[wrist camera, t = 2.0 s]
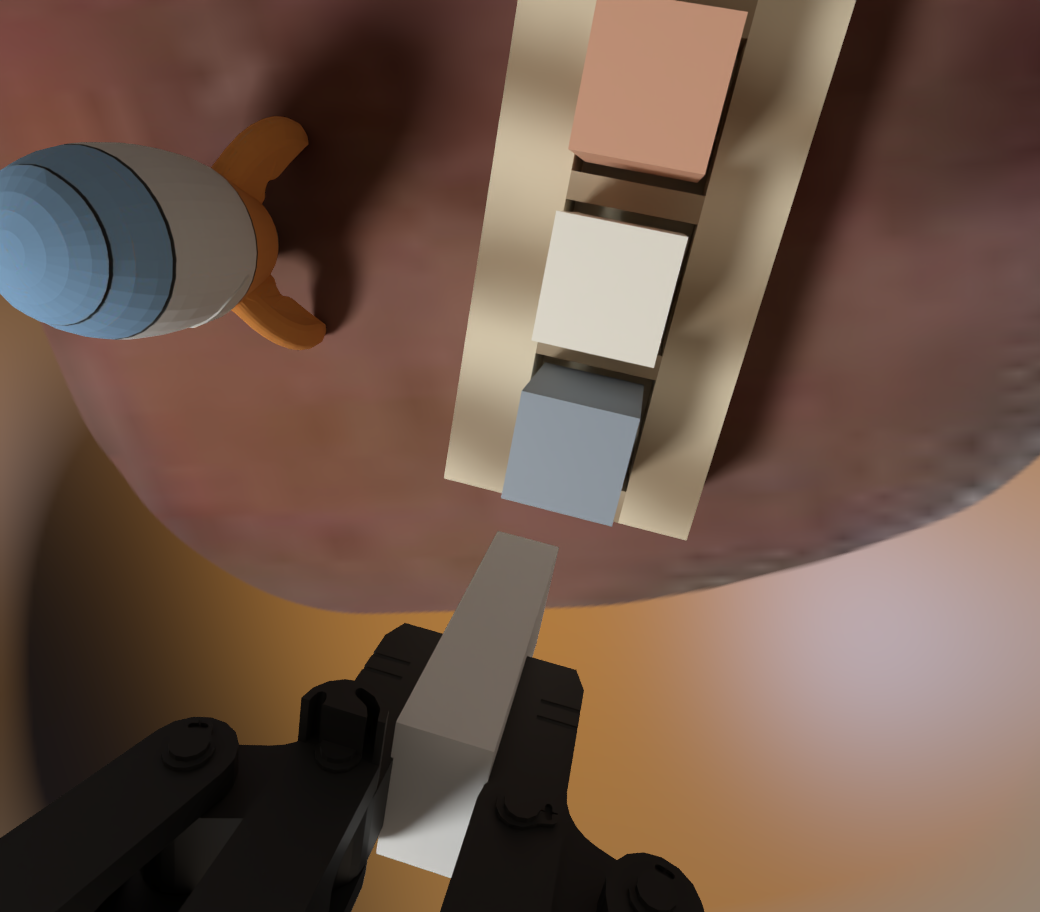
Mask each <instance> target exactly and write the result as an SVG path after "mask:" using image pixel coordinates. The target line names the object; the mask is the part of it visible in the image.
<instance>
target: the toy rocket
mask: <svg viewBox="0 0 1040 912" xmlns="http://www.w3.org/2000/svg"><path fill="white" fill-rule="evenodd" d="M307 145H308V137H307V134H306V132H305V131H304V129H303V128H302V126H301V125H300V124H299V123H298V122H295V121H293V120H291V119H289V118H287V117H279V116H272V117H268V118H264V119H262V120H260V121H258V122H256V123H254V124H252V125H250V126H249V127H247V128H246V129H245V130H244V131H242V132H241V133H240V134H239V135H238V136H237V137H236V138H235V139H234V140H233V141H232V142H231V143H230V144H229V145H228V146H227V148H226V149H225V150H224V151H223V152H222V154H221V155H220V157H219V158H218V159H217V161H216V162H215V163H214V164H213V166H212V167H211V168H210V167H208V166H206V165H204V164H202V163H200V162H198V161H196V160H194V159H191V158H188V157H186V156H183V155H179V154H176V153H172V152H169V151H165V150H161V149H157V148H152V147H147V146H141V145H135V144H126V143H109V142H81V143H70V144H64V145H59V146H55V147H51V148H47V149H43V150H39V151H35V152H33V153H31V154H29V155H26V156H24V157H22V158H20V159H18V160H16V161H15V162H13V163H11V164H9V165H8V166H7V167H5V168H3V169H2V170H0V294H1V295H2V296H3V297H4V298H5V299H6V300H7V301H8V302H9V303H10V304H11V305H12V306H13V307H15V308H16V309H18V310H20V311H21V312H23V313H25V314H26V315H28V316H30V317H32V318H34V319H36V320H38V321H41V322H44V323H46V324H48V325H50V326H52V327H54V328H57V329H60V330H63V331H67V332H70V333H74V334H78V335H82V336H86V337H93V338H103V339H116V340H120V339H136V338H144V337H151V336H158V335H164V334H168V333H171V332H175V331H179V330H182V329H186V328H189V327H190V328H194V327H197V326H200V325H202V324H205V323H207V322H210V321H212V320H215V319H217V318H219V317H222V316H223V315H225V314H226V313H228V312H229V311H230V310H232V311H233V312H234V313H236V314H237V315H238V316H239V317H240V318H241V319H242V320H244V321H245V322H246V323H247V324H248V325H249V326H250V327H251V328H252V329H254V330H255V331H257V332H258V333H259V334H261V335H262V336H263V337H265V338H266V339H268V340H270V341H272V342H274V343H276V344H278V345H280V346H283V347H286V348H289V349H294V350H304V349H310V348H312V347H314V346H316V345H317V344H319V343H321V342H322V340H323V338H324V336H325V333H326V324H324V323H323V322H321V321H320V320H319V319H317V318H316V317H315V316H313V315H312V314H311V313H309V312H308V311H307V310H305V309H304V308H303V307H302V306H301V305H299V304H298V303H297V302H296V301H295V300H293V299H292V298H290V297H287V296H282V295H281V294H280V292H279V291H278V289H277V287H276V283H275V279H274V278H273V277H272V276H271V272H272V270H273V268H274V266H275V264H276V260H277V257H278V249H279V236H278V232H277V229H276V227H275V225H274V223H273V220H272V218H271V216H270V215H269V213H268V211H267V210H266V208H265V207H264V206H263V205H262V203H263V201H264V199H265V190H266V186H267V183H268V182H269V181H270V180H273V179H276V178H277V177H279V176H280V174H281V173H282V172H283V171H284V170H285V168H286V167H287V166H288V165H289V164H290V163H291V162H292V161H293V160H294V158H295V157H296V156H297V155H298V154H299V153H300V152H301V151H302V150H303V149H304V148H305V147H306V146H307Z"/></svg>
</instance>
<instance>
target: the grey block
mask: <svg viewBox="0 0 1040 912" xmlns="http://www.w3.org/2000/svg"><path fill="white" fill-rule="evenodd" d="M643 391H644V385H642V384H638V383H633V382H629V381H625V380H620V379H616V378H612V377H607V376H603V375H599V374H594V373H590V372H585V371H581V370H577V369H572V368H568V367H564V366H559V365H555V364H551V363H546V362H545V363H544V364H543V365H542V367H541V368H540V369H539V370H538V372H537V373H536V374H535V375H534V376H533V378H532V379H531V380H530V381H529V383H528V384H527V385H526V386H525V387H524V389H523V390H522V392H521V397H520V402H519V407H518V413H517V418H516V423H515V428H514V434H513V439H512V444H511V449H510V454H509V460H508V465H507V470H506V475H505V480H504V486H503V491H502V496H501V498H503V499H507V500H511V501H515V502H519V503H522V504H526V505H530V506H534V507H538V508H542V509H546V510H550V511H554V512H557V513H561V514H565V515H569V516H573V517H577V518H581V519H585V520H588V521H592V522H596V523H600V524H604V525H608V526H612V524H613V520H614V516H615V513H616V509H617V505H618V501H619V497H620V494H621V490H622V486H623V482H624V479H625V475H626V471H627V467H628V463H629V460H630V456H631V452H632V448H633V445H634V441H635V437H636V433H637V429H638V426H639V422H640V417H641V408H642V400H643Z"/></svg>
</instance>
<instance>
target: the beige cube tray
mask: <svg viewBox="0 0 1040 912" xmlns="http://www.w3.org/2000/svg"><path fill="white" fill-rule="evenodd" d="M596 1H597V0H518V3H517V10H516V16H515V23H514V29H513V35H512V42H511V48H510V55H509V61H508V68H507V74H506V81H505V87H504V94H503V100H502V107H501V113H500V119H499V126H498V132H497V139H496V145H495V152H494V158H493V165H492V171H491V178H490V184H489V191H488V197H487V203H486V210H485V216H484V223H483V229H482V236H481V242H480V249H479V255H478V262H477V268H476V275H475V281H474V288H473V294H472V300H471V307H470V313H469V320H468V326H467V333H466V339H465V346H464V352H463V359H462V365H461V372H460V378H459V384H458V391H457V397H456V404H455V410H454V417H453V423H452V430H451V436H450V443H449V449H448V456H447V462H446V469H445V475H444V478H445V479H449V480H453V481H457V482H461V483H465V484H469V485H473V486H476V487H480V488H484V489H488V490H492V491H496V492H500V493H502V491H503V486H504V480H505V475H506V470H507V465H508V460H509V454H510V449H511V444H512V439H513V434H514V428H515V423H516V418H517V413H518V407H519V402H520V397H521V392H522V390H523V389H524V387H525V386H526V385H527V384H528V383H529V381H530V380H531V379H532V378H533V376H534V375H535V374H536V373H537V372H538V370H539V369H540V368H541V367H542V365H543V364H544V363H545V362H546V363H551V364H555V365H559V366H564V367H568V368H572V369H577V370H581V371H585V372H590V373H594V374H599V375H603V376H607V377H612V378H616V379H620V380H625V381H629V382H633V383H638V384H642V385H644V391H643V400H642V408H641V417H640V422H639V426H638V429H637V433H636V437H635V441H634V445H633V448H632V452H631V456H630V460H629V463H628V467H627V471H626V475H625V479H624V482H623V486H622V490H621V494H620V497H619V501H618V505H617V509H616V513H615V516H614V520H613V522H617V523H621V524H625V525H628V526H632V527H636V528H640V529H644V530H648V531H652V532H656V533H660V534H663V535H667V536H671V537H675V538H679V539H683V540H687V537H688V534H689V530H690V527H691V524H692V521H693V518H694V515H695V511H696V508H697V505H698V502H699V499H700V495H701V492H702V489H703V486H704V483H705V480H706V476H707V473H708V470H709V467H710V464H711V460H712V457H713V454H714V451H715V448H716V445H717V441H718V438H719V435H720V432H721V429H722V425H723V422H724V419H725V416H726V413H727V410H728V406H729V403H730V400H731V397H732V394H733V390H734V387H735V384H736V381H737V378H738V375H739V371H740V368H741V365H742V362H743V359H744V355H745V352H746V349H747V346H748V343H749V340H750V336H751V333H752V330H753V327H754V324H755V320H756V317H757V314H758V311H759V308H760V305H761V301H762V298H763V295H764V292H765V289H766V285H767V282H768V279H769V276H770V273H771V269H772V266H773V263H774V260H775V257H776V254H777V250H778V247H779V244H780V241H781V238H782V234H783V231H784V228H785V225H786V222H787V219H788V215H789V212H790V209H791V206H792V203H793V199H794V196H795V193H796V190H797V187H798V184H799V180H800V177H801V174H802V171H803V168H804V164H805V161H806V158H807V155H808V152H809V149H810V145H811V142H812V139H813V136H814V133H815V129H816V126H817V123H818V120H819V117H820V114H821V110H822V107H823V104H824V101H825V98H826V94H827V91H828V88H829V85H830V82H831V79H832V75H833V72H834V69H835V66H836V63H837V59H838V56H839V53H840V50H841V47H842V43H843V40H844V37H845V34H846V31H847V28H848V24H849V21H850V18H851V15H852V12H853V8H854V5H855V2H856V0H676V1H682V2H688V3H695V4H701V5H707V6H714V7H720V8H726V9H733V10H739V11H745V12H748V14H747V18H746V21H745V25H744V29H743V33H742V37H741V40H740V44H739V48H738V52H737V55H736V59H735V63H734V67H733V71H732V74H731V78H730V82H729V86H728V89H727V93H726V97H725V101H724V105H723V108H722V112H721V116H720V120H719V123H718V127H717V131H716V135H715V139H714V142H713V146H712V150H711V154H710V157H709V161H708V165H707V169H706V173H705V175H704V176H703V177H702V178H701V179H700V180H699V181H698V183H694V182H689V181H684V180H679V179H673V178H668V177H663V176H658V175H652V174H647V173H642V172H637V171H631V170H626V169H621V168H616V167H610V166H605V165H600V164H595V163H589V162H585V161H584V160H583V159H581V158H580V157H578V156H577V155H576V154H574V153H573V152H572V151H570V150H569V149H568V147H569V142H570V136H571V131H572V126H573V121H574V115H575V110H576V105H577V100H578V95H579V89H580V84H581V79H582V74H583V69H584V63H585V58H586V53H587V48H588V42H589V37H590V32H591V27H592V22H593V16H594V11H595V6H596ZM556 211H569V212H578V213H583V214H588V215H593V216H598V217H603V218H608V219H613V220H618V221H623V222H628V223H633V224H638V225H643V226H648V227H653V228H658V229H663V230H668V231H673V232H678V233H683V234H685V235H686V236H688V241H687V244H686V248H685V252H684V256H683V259H682V263H681V267H680V271H679V275H678V278H677V282H676V286H675V290H674V293H673V297H672V301H671V305H670V309H669V312H668V316H667V320H666V324H665V327H664V331H663V335H662V339H661V343H660V346H659V350H658V354H657V358H656V361H655V365H654V368H651V367H647V366H642V365H638V364H633V363H629V362H625V361H620V360H616V359H611V358H607V357H602V356H598V355H594V354H589V353H585V352H580V351H576V350H571V349H567V348H563V347H558V346H554V345H549V344H545V343H541V342H536V341H532V334H533V329H534V324H535V319H536V314H537V308H538V303H539V298H540V293H541V288H542V282H543V277H544V272H545V267H546V261H547V256H548V251H549V246H550V241H551V235H552V230H553V225H554V220H555V215H556Z"/></svg>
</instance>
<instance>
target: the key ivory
mask: <svg viewBox="0 0 1040 912" xmlns="http://www.w3.org/2000/svg"><path fill="white" fill-rule="evenodd" d="M687 241H688V236H686V235H685V234H683V233H678V232H673V231H668V230H663V229H658V228H653V227H648V226H643V225H638V224H633V223H628V222H623V221H618V220H613V219H608V218H603V217H598V216H593V215H588V214H583V213H578V212H569V211H556V215H555V220H554V225H553V230H552V235H551V241H550V246H549V251H548V256H547V261H546V267H545V272H544V277H543V282H542V288H541V293H540V298H539V303H538V308H537V314H536V319H535V324H534V329H533V334H532V341H536V342H541V343H545V344H549V345H554V346H558V347H563V348H567V349H571V350H576V351H580V352H585V353H589V354H594V355H598V356H602V357H607V358H611V359H616V360H620V361H625V362H629V363H633V364H638V365H642V366H647V367H651V368H654V365H655V361H656V358H657V354H658V350H659V346H660V343H661V339H662V335H663V331H664V327H665V324H666V320H667V316H668V312H669V309H670V305H671V301H672V297H673V293H674V290H675V286H676V282H677V278H678V275H679V271H680V267H681V263H682V259H683V256H684V252H685V248H686V244H687Z"/></svg>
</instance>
